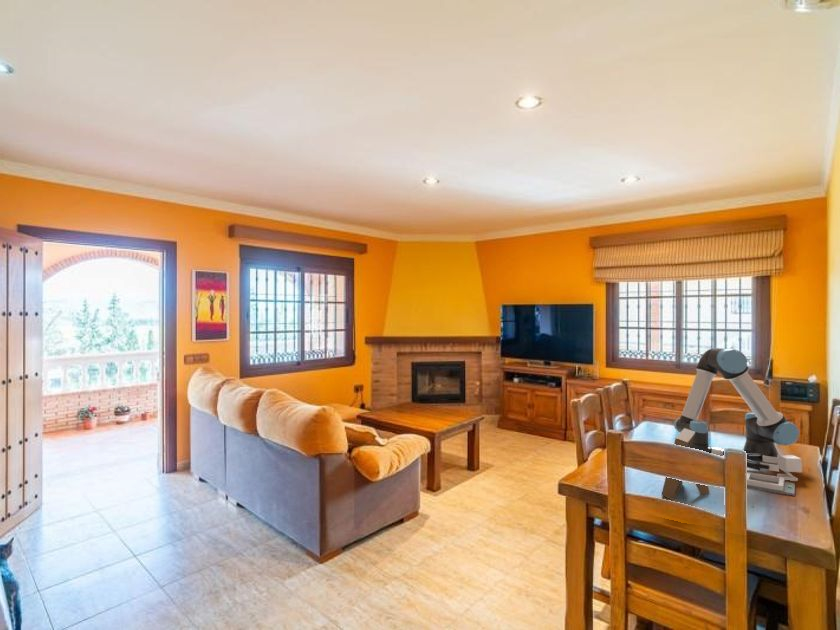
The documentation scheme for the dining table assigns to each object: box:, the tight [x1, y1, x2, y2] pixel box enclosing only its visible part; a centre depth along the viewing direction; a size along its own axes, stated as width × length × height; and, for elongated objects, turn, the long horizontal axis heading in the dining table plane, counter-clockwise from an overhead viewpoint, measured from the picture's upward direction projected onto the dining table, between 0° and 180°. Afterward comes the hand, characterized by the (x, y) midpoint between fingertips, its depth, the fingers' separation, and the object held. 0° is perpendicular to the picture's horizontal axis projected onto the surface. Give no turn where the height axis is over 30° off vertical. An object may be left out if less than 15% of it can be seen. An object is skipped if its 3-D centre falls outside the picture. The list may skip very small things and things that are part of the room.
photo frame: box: [661, 428, 710, 500], centre depth 182 cm, size 15×22×25 cm
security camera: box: [776, 454, 803, 482], centre depth 196 cm, size 6×7×10 cm
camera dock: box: [746, 471, 796, 497], centre depth 188 cm, size 15×20×3 cm
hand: (779, 464), depth 197 cm, fingers open, 13 cm apart
